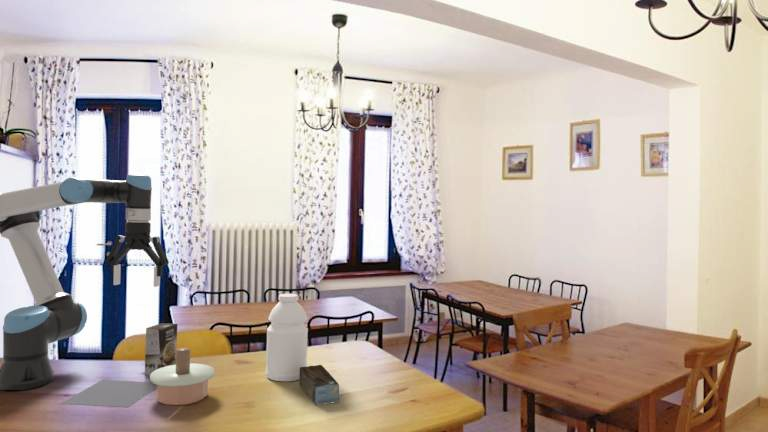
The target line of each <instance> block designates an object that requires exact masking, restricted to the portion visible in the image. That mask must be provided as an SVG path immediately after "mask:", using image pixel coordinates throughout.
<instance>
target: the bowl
mask: <svg viewBox="0 0 768 432" xmlns="http://www.w3.org/2000/svg"><path fill="white" fill-rule="evenodd" d="M208 381H209V380H207V381H204V382H201V383H198V384H194V385H188V386H176V387H170V386H160V385H157V387H156V401H157V402H159V403H161V404H163V405H168V406H169V405H171V406H173V405H174V406H180V405H182V406H189V405H191V404H195V403H198V402H200V401H201V400H203V399H204V398H205V397H206V396H208V392H209V391H208V387H209V386H208V385H209V384H208V383H209V382H208Z"/></svg>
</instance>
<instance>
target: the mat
mask: <svg viewBox="0 0 768 432" xmlns="http://www.w3.org/2000/svg"><path fill="white" fill-rule="evenodd" d="M155 389H157V385H156V384H154V383H152V382H151V381H135V380H134V381H133V380H113V379H112V380H111V379H110V380H109V379H101V380H99V381H98V382H96V383H94V384H92V385H90V386H89V387H87V388H86V389H83V390H82V391H80V392H78V393H76V394H75V395H73V396H70V398H68V399H66V400H63V402H60V404H61V405H74V406H75V405H79V406H95V407H96V406H97V407H112V408H113V407H116V408H117V407H118V408H130V407H131V406H132V405H134V404H135V403H137V402H138V401H140V400H141V399H142V398H144V397H145V396H147V395H148V394H149V393H151V392H152V391H154V390H155Z"/></svg>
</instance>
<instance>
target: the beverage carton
mask: <svg viewBox="0 0 768 432" xmlns="http://www.w3.org/2000/svg"><path fill="white" fill-rule="evenodd" d="M299 385H300V387H301V388H302V389H303V391H304V392H305V393H306V395H307V396H308V397H309V399H310V400H311V402H314V403H315V404H314V403H313V404H314V406H319V405H318V404H322V405H325V404H324V403H329V404H332V403H331V402H337V403H339V402H338V401H340V384H339V383H338V382H337V380H336V379H335V378H334V377H333V376H332V375H331V373H330V372H328V370H327V369H326V368H325V367H324V366H323V365H322V364H317V365H309V366H307V365H306V367H300V379H299Z"/></svg>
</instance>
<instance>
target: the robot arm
mask: <svg viewBox="0 0 768 432" xmlns="http://www.w3.org/2000/svg"><path fill="white" fill-rule="evenodd" d="M152 191H153V189H152V178H151V177H150V176H149V175H146V174H145V175H144V174H127V175H126V179H125V180H115V179H112V180H111V179H97V178H89V177H88V178H85V177H81V176H77V177H67V178H65V179H64V180H63V181H60V182H59V181H58V182H55V183H50V184H44V185H39V186H34V187H29V188H24V189H18V190H14V191H13V190H12V191H9V192H8V191H7V192H2V193H1V192H0V236H1V238H5V239H7V240H8V241H9V243H10V245H11V248H12V250H13V252H14V255H15V257H16V259H17V261H18V262H17V263H18V264H19V266H20V269H21V270H22V273H23V276H24V278H25V281H26V283H27V284H28V285H27V286H28V287H29V290H30V292H31V294H32V297H33V299H34V301H35V302H34V303H35V304H34V305H30V306H25V307H18V308H16V309H14V310H13V309H12V310H11V311H9V312H8V313H7V314H5V316H4V318H3V319H4V320H3V326H2V330H3V334H2V335H3V336H2V337H3V339H2V340H3V341H2V342H3V343H2V347H3V348H2V350H3V351H2V354H3V356H2V357H3V358H2V362H1V363H2V364H1V366H0V389H1V390H0V391H2V390H20V391H26V390H25V389H28V390H32V388H33V389H37V388H41V387H43V386H46V385H48V384H50V383H52V382H53V381H54V380H55V379H54V378H55V371H54V369H53V367H52V364H51V361H50V358H49V344H52V343H54V342H57V341H60V340H63V339H64V340H65V339H70V338H71V337H73V336H75V335H77V334H79V333H80V332H81V331H82V330H84V329H85V327H86V324H87V320H88V313H87V309H86V308H85V306H84V305H83V304H82V303H79V302H78V301H74V299H73V297H72V295H71V294H70V293H67V292H65V291H64V289H63V287H62V284H61V282H60V280H59V278H58V275H57V273H56V271H55V268H54V266H53V264H52V262H51V259H50V257H49V255H48V252H47V250H46V248H45V246H44V243H43V241H42V239H41V236H40V234H39V231H38V230H39V228H40V227H41V223H40V221H41V219H42V214H43V211H46V210H51V209H57V208H61V207H65V206H71V205H73V206H74V205H78V204H79V205H80V204H82V203H83V204H84V203H85V204H86V203H102V204H103V203H104V204H113V203H114V204H121V203H122V204H125V220H126V222H125V227H124V228H125V236H124V235H122V234H121V235H120V234H119V235H118V234H117V235H116V236H115V241H114V244H113V245H112V248H111V249H110V251H109V253H108V255H107V257H106V259H105V263H106V264H109V265H111V271H110V273H111V275H113V286H117V285H121V273H122V272H121V270H122V269H121V264H120V263H121V261H122V260H123V259H124V257H126V255H127V254H128V253H129V252H130V251H131V250H139V251H141V250H143V251H144V252H145V254H147V256H148V257H149V259H151V261H152V262H153V263H154V264H155V266H154V267H153V287H154V288H157V287H160V286H161V277H162V276H163V272H164V271H163V270H164V266H166V265H169V263H170V262H169V259H168V257H167V255H166V253H165V251H164V248H163V246H162V245H161V244H162V243H161V239H160V236H152V237H151V222H150V221H151V220H152V219H151V218H152V216H151V215H152V212H151V211H152V209H151V208H152V207H151V206H152V204H151V203H152ZM124 242H125V245H124V246H123V247H122V249H121V246H122V244H123V243H124ZM150 243H151V244H153V247H154V249H153V247H152V246H151V245H150ZM120 249H121V251H119V250H120ZM154 250H155V251H154Z"/></svg>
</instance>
